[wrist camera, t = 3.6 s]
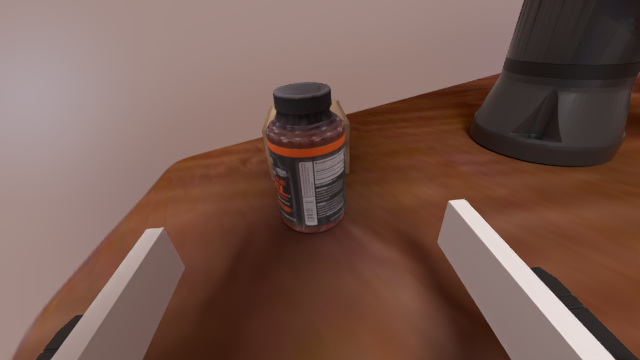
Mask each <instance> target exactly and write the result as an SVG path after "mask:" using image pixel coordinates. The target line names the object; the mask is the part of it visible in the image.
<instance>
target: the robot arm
mask: <svg viewBox="0 0 640 360" xmlns="http://www.w3.org/2000/svg"><path fill="white" fill-rule="evenodd" d="M639 72H640V0H524V3H523V6H522V9H521V12H520V16H519V18H518V21H517V25H516V28H515V31H514V34H513V38H512V41H511V43H510V46H509V50H508V53H507V57H506V59H505V63H504V66H503V69H502V72H501V75H500V77H499V79H498V80H497V82H496V83H495V85H494V86H493V88H492V89H491V91H490V92H489V94H488V95H487V97H486V99H485V100H484V102H483V103H482V105H481V107H480V109H479V110H478V111H477V112H476V113H475V114H474V116H473V119H472V123H471V126H470V130H469V134H470V136H471V137H472V138H473V139H474V140H475V141H476V142H477V143H479V144H480V145H482V146H484V147H486V148H488V149H490V150H493V151H495V152H498V153H500V154H503V155H507V156H510V157H513V158H517V159H521V160H526V161H531V162H536V163H542V164H550V165H559V166H590V165H598V164H602V163H605V162H608V161H610V160H611V159H612V158H613V157H614V156H615V154H616V153H617V151H618V150H619V148H620V146H621V145H622V143H623V142H624V139H625V135H626V134H625V126H626V122H627V116H628V111H629V104H630V97H631V90H632V85H633V83H634V80H635V79H636V77H637V75H638V73H639ZM437 243H438V245H439V246H440V248H441V249H442V251H443V252H444V254H445V256H446V257H447V259H448V260H449V262H450V264H451V265H452V267H453V268H454V270H455V271H456V273H457V275H458V276H459V278H460V279H461V281H462V283H463V284H464V286H465V287H466V289H467V290H468V292H469V294H470V295H471V297H472V298H473V300H474V302H475V303H476V305H477V306H478V308H479V309H480V311H481V313H482V314H483V316H484V317H485V319H486V321H487V322H488V324H489V325H490V327H491V328H492V330H493V332H494V333H495V335H496V336H497V338H498V340H499V341H500V343H501V344H502V346H503V347H504V349H505V351H506V352H507V354H508V355H509V357H510V359H511V360H639V359H638V358H637V357H636V356H634V355H633V354H632V353H631V352H630V351H629V350H628V349H627V348H626V347H625V346H624V345H623V344H622V343H621V342H620V341H619V340H618V339H617V338H616V337H615V336H614V335H613V334H612V333H611V332H610V331H609V330H608V329H607V328H606V327H605V326H604V325H603V324H602V323H601V322H600V321H599V320H598V319H597V318H596V317H595V316H594V315H593V314H592V313H591V312H590V311H589V310H588V309H587V308H584V307H583V304H582V303H581V302H580V301H579V300H578V299H577V298H576V297H575V296H572V295H571V292H570V291H569V290H568V289H567V288H566V287H565V286H564V285H563V284H562V283H561V282H560V281H559V280H558V279H557V278H555V277H554V276H552V275H551V274H549V273H547V272H546V271H544V270H543V269H541V268H540V267H535V268H529V267H528V266H527V265H526V264H525V263H524V262H523V261H522V260H521V259H520V258H519V257H518V256H517V254H516V253H515V252H514V251H513V250H512V249H511V248H510V247H509V246H508V245H507V244H506V243H505V242H504V241H503V240H502V238H501V237H500V236H499V235H498V234H497V233H496V232H495V231H494V230H493V229H492V228H491V227H490V226H489V225H488V224H487V223H486V221H485V220H484V219H483V218H482V217H481V216H480V215H479V214H478V213H477V212H476V211H475V210H474V209H473V208H472V207H471V206H470V204H469V203H468V202H467V201H466V200H465V199H463V200H452V201H448V205H447V209H446V212H445V216H444V220H443V223H442V227H441V231H440V234H439V238H438V242H437ZM184 269H185V266H184V264H183V262H182V261H181V259H180V257H179V255H178V253H177V251H176V249H175V247H174V246H173V244H172V242H171V240H170V238H169V236H168V234H167V233H166V231H165V229H164V228H154V229H146V231H145V232H144V233H143V235H142V236H141V238H140V239H139V240H138V242H137V243H136V244H135V246H134V247H133V248H132V250H131V251H130V253H129V254H128V255H127V257H126V258H125V259H124V261H123V262H122V263H121V265H120V266H119V268H118V269H117V270H116V272H115V273H114V274H113V276H112V277H111V278H110V280H109V281H108V283H107V284H106V285H105V287H104V288H103V289H102V291H101V292H100V293H99V295H98V296H97V298H96V299H95V300H94V302H93V303H92V304H91V306H90V307H89V308H88V310H87V311H86V312H85V314H84V315H77V316H75V317H74V318H73V319H71V320H70V321H69V322H68V323H67V324H66V325H65V326H64V327H62V328H61V329H60V330H59V331H58V332H57V333H56V335H55V336H54V337H53V338H52V340H51V341H50V342H49V344H48V345H47V346H46V347H45V349H44V352H43V353H41V354H40V355H39V356H38V358H37V359H36V360H143V358H144V356H145V353H146V351H147V349H148V347H149V345H150V343H151V340H152V338H153V336H154V334H155V332H156V330H157V327H158V325H159V323H160V321H161V319H162V317H163V314H164V312H165V310H166V308H167V306H168V304H169V301H170V299H171V297H172V295H173V293H174V291H175V288H176V286H177V284H178V282H179V280H180V278H181V276H182V273H183V271H184Z"/></svg>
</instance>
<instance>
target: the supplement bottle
mask: <svg viewBox="0 0 640 360" xmlns="http://www.w3.org/2000/svg"><path fill="white" fill-rule="evenodd" d="M273 96H274V108H275V110H276V114H275V118H274V119H273V120H271V121H270V122H269V124H268V126H267V129H266V136H267V142H268V150H269V155H270V159H271V165H272V169H273V175H274V180H275V185H276V191H277V196H278V202H279V207H280V212H281V215H282V218H283V220H284V222H285V223H286V224H287V225H288V226H289V227H291V228H292V229H294V230H296V231H298V232H304V233H318V232H323V231H326V230H328V229H331V228H332V227H334V226H335V225H337V224H338V223H339V222H340V221H341V219H342V218H343V215H344V212H345V127H344V123H343V121H342V119H341V118H340V117H339V116H338V115H337V114H335V113H334V112H332V111H331V110H330V107H331V105H332V101H331V89H330V87H329V86H328V85H327V84H323V83H316V82H304V83H295V84H289V85H285V86H281V87H278V88H277V89H275V90H274V92H273Z"/></svg>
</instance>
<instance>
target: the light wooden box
mask: <svg viewBox="0 0 640 360" xmlns="http://www.w3.org/2000/svg"><path fill="white" fill-rule="evenodd" d="M331 101H332V105H331V107H330V110H331V111H332V112H334V113H335V114H337V115H338V116H339V117H340V118H341V119H342V121H343V123H344V127H345V174H349V167H350V123H349V121H348V119H347V117H346V115H345V113H344V111H343V109H342V107H341V106H340V103H339V101H335V100H331ZM275 114H276V110H275V108H274V105H273V106H270V109H269V112H268V115H267V118H266V121H265V124H264V127H263V129H262V133H263V139H264V144H265V149H266V154H267V159H268V164H269V170H270V175H271V180H274V175H273V169H272V165H271V159H270V155H269V150H268V142H267V136H266V129H267V126H268V124H269V122H270V121H271V120H273V119H274V118H275Z"/></svg>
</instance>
